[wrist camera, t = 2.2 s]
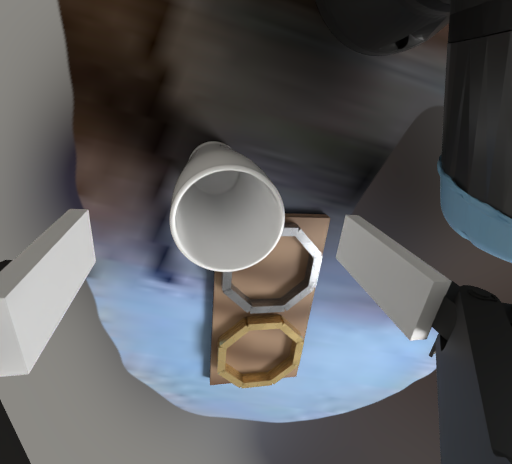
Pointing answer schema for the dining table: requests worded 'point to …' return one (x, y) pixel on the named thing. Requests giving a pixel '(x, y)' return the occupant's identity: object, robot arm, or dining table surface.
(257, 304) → the near collar
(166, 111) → the dining table surface
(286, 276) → the walnut board
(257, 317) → the far collar
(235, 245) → the drinking glass
